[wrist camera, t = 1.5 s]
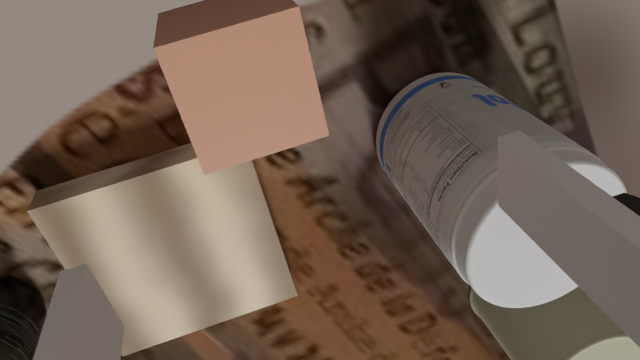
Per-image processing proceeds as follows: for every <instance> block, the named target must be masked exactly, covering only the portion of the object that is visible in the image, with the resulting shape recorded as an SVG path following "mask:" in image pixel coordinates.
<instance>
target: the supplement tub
mask: <svg viewBox="0 0 640 360" xmlns="http://www.w3.org/2000/svg"><path fill="white" fill-rule="evenodd" d="M519 130H520V131H521V132H523V133H524V134H526V135H527V136H528V137H530V138H531V139H533V140H534V141H535V142H537V143H538V144H540V145H541V146H542V147H544V148H545V149H547V150H548V151H549V152H551V153H552V154H554V155H555V156H556V157H558V158H559V159H560V160H562V161H563V162H565V163H566V164H567V165H569V166H570V167H572V168H573V169H574V170H576V171H577V172H579V173H580V174H581V175H583V176H584V177H586V178H587V179H588V180H590V181H591V182H593V183H594V184H595V185H597V186H598V187H600V188H601V189H602V190H604V191H605V192H606V193H608V194H609V195H611V196H612V197H613V196H616V195H619V194H622V193H627V191H626V189H625V186H624V184H623V182H622V181H621V179H620V178H619V176H618V175H617V174H616V173H615V172H614V171H613V170H611V169H610V168H609V167H607V166H606V165H605V164H604V163H603V162H602V161H601V160H600V159H599V158H598V157H596V156H595V155H593V154H592V153H590V152H589V151H588V150H586V149H585V148H583V147H582V146H580V145H578V144H577V143H576V142H574V141H573V140H571V139H569V138H568V137H566V136H565V135H563V134H561V133H560V132H558V131H557V130H555V129H553V128H552V127H550V126H549V125H547V124H546V123H544V122H542V121H541V120H539V119H538V118H536V117H534V116H533V115H531V114H530V113H528V112H527V111H525V110H523V109H522V108H520V107H519V106H517V105H515V104H514V103H512V102H511V101H509V100H507V99H506V98H504V97H503V96H501V95H499V94H498V93H496V92H495V91H493V90H492V89H490V88H488V87H487V86H485V85H484V84H482V83H481V82H479V81H477V80H476V79H474V78H472V77H469V76H467V75H464V74H459V73H451V72H445V73H435V74H431V75H427V76H424V77H422V78H419V79H417V80H415V81H414V82H412V83H410V84H409V85H407V86H406V87H405V88H403V89H402V90H401V91H400V92H399V93H398V94H397V95H396V96H395V97H394V98H393V99H392V100H391V102H390V103H389V104H388V106H387V108H386V109H385V111H384V113H383V115H382V117H381V119H380V122H379V125H378V129H377V135H376V150H377V155H378V158H379V161H380V164H381V166H382V167H383V169H384V171H385V172H386V174H387V175H388V177H389V178H390V179H391V181H392V182H393V184H394V185H395V186H396V188H397V189H398V191H399V192H400V193H401V195H402V196H403V198H404V199H405V201H406V202H407V203H408V205H409V206H410V207H411V209H412V210H413V212H414V213H415V214H416V216H417V217H418V219H419V220H420V221H421V223H422V224H423V226H424V227H425V228H426V230H427V231H428V233H429V234H430V235H431V237H432V238H433V239H434V241H435V242H436V244H437V245H438V246H439V248H440V249H441V251H442V252H443V253H444V255H445V256H446V258H447V259H448V260H449V262H450V263H451V264H452V266H453V267H454V268H455V270H456V271H457V272H458V274H459V275H460V276H461V278H462V279H463V280H464V281H465V282H466V283H468V284H469V285H470V286H471V287H472V289H473V290H474V291H475V292H476V293H477V294H478V295H479V296H480V297H481V298H482V299H484V300H485V301H487V302H489V303H491V304H494V305H498V306H501V307H507V308H525V307H532V306H536V305H540V304H544V303H547V302H550V301H552V300H555V299H557V298H559V297H561V296H563V295H565V294H567V293H568V292H570V291H572V290H574V289H575V288H577V287H578V285H577V284H576V283H575V282H574V281H573V280H572V279H571V278H570V277H569V276H568V275H567V274H566V273H565V272H564V271H563V270H562V269H561V268H560V267H559V266H558V265H557V264H556V263H555V262H554V261H553V260H552V259H551V258H550V257H549V256H548V255H547V254H546V253H545V252H544V251H543V250H542V249H541V248H540V247H539V246H538V245H537V244H536V243H535V242H534V241H533V240H532V239H531V238H530V237H529V236H528V235H527V234H526V233H525V232H524V231H523V230H522V229H521V228H520V227H519V226H518V225H517V224H516V223H515V222H514V221H513V220H512V219H511V218H510V217H509V216H508V215H507V214H506V213H505V212H504V211H503V210H502V209H501V208H500V207H499V204H498V137H499V136H503V135H506V134H509V133H512V132H516V131H519Z"/></svg>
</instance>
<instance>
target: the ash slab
mask: <svg viewBox="0 0 640 360" xmlns="http://www.w3.org/2000/svg"><path fill="white" fill-rule="evenodd" d="M27 212H28V213H29V215H30V217H31V218H32V220H33V221H34V223H35V224H36V226H37V227H38V229H39V230H40V232H41V233H42V235H43V236H44V238H45V239H46V241H47V242H48V244H49V245H50V247H51V248H52V250H53V251H54V253H55V254H56V256H57V257H58V259H59V260H60V262H61V263H62V265H63V267H64V268H65V270H67V269H70V268H73V267H76V266H80V265H83V264H87V265H88V267H89V269H90V270H91V272H92V273H93V275H94V277H95V278H96V280H97V282H98V283H99V285H100V287H101V288H102V290H103V292H104V293H105V295H106V297H107V298H108V300H109V302H110V303H111V305H112V307H113V308H114V310H115V312H116V313H117V315H118V316H119V318H120V320H121V321H122V323H123V325H124V334H123V341H122V349H121V354H122V356H125V355H128V354H131V353H134V352H137V351H140V350H143V349H145V348H148V347H151V346H154V345H157V344H160V343H163V342H166V341H169V340H171V339H174V338H177V337H180V336H183V335H186V334H189V333H192V332H195V331H197V330H200V329H203V328H206V327H209V326H212V325H215V324H218V323H221V322H223V321H226V320H229V319H232V318H235V317H238V316H241V315H244V314H247V313H249V312H252V311H255V310H258V309H261V308H264V307H267V306H270V305H272V304H275V303H278V302H281V301H284V300H287V299H290V298H293V297H296V296H298V295H297V292H296V289H295V285H294V282H293V279H292V275H291V272H290V269H289V266H288V264H287V261H286V258H285V255H284V252H283V249H282V246H281V243H280V240H279V237H278V234H277V231H276V228H275V225H274V222H273V219H272V216H271V213H270V210H269V207H268V204H267V201H266V198H265V195H264V192H263V189H262V186H261V183H260V181H259V178H258V175H257V172H256V169H255V166H254V163H253V160H251V161H247V162H244V163H241V164H238V165H235V166H232V167H228V168H225V169H222V170H219V171H216V172H213V173H209V174H206V175H204V173H203V170H202V168H201V165H200V163H199V160H198V158H197V155H196V153H195V150H194V148H193V145H192V143H189V144H186V145H183V146H180V147H177V148H173V149H170V150H167V151H164V152H160V153H157V154H154V155H151V156H148V157H144V158H141V159H138V160H135V161H131V162H128V163H125V164H122V165H119V166H115V167H112V168H109V169H106V170H102V171H99V172H96V173H93V174H90V175H86V176H83V177H80V178H77V179H73V180H70V181H67V182H64V183H60V184H57V185H54V186H51V187H48V188H44V189H41V190H38V191H36V193H35V195H34V197H33V200H32V202H31V204H30V206H29V208H28V210H27Z"/></svg>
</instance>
